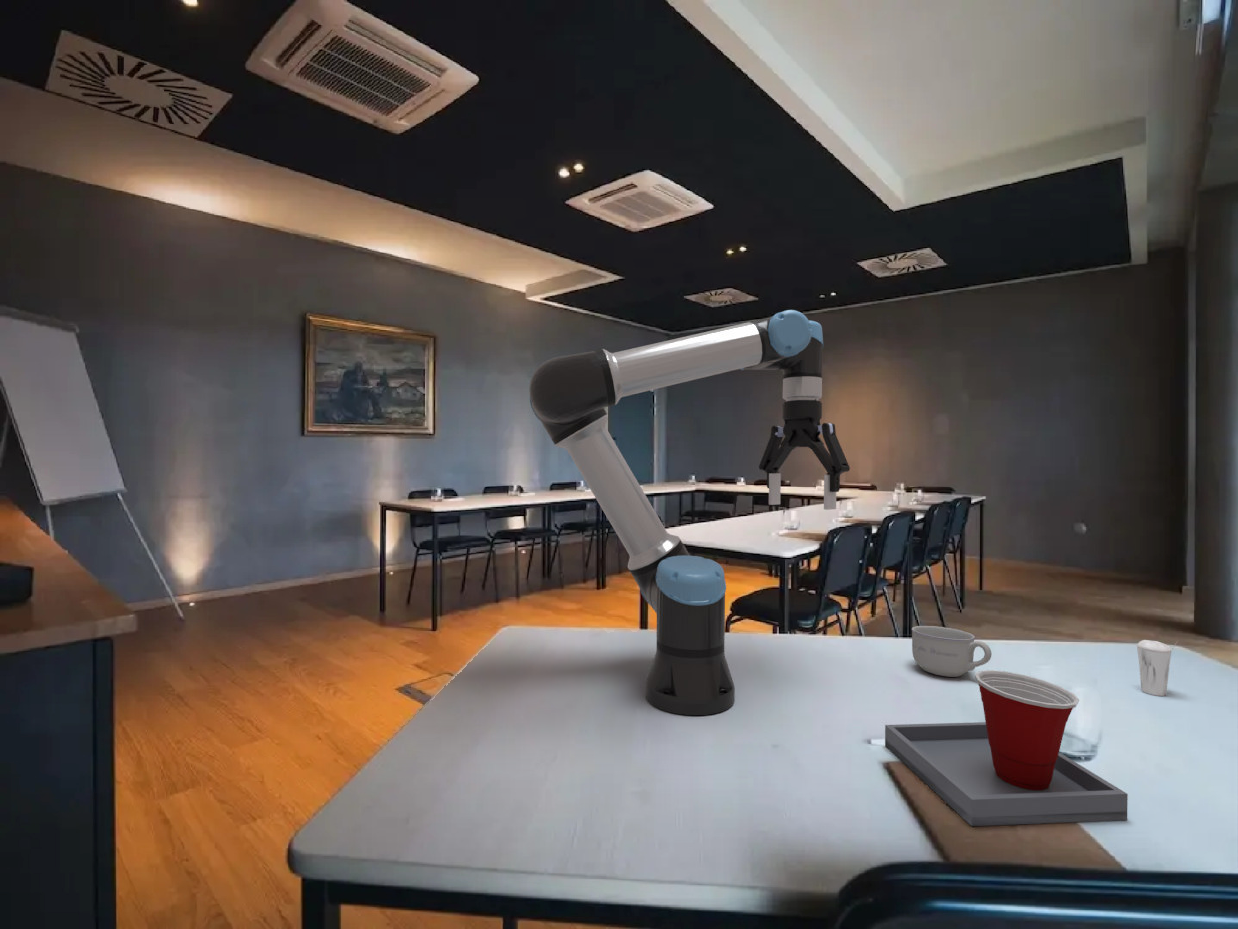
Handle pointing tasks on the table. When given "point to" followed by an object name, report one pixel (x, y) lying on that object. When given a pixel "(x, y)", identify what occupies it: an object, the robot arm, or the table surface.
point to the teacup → (946, 650)
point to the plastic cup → (1024, 725)
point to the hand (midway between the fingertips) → (800, 507)
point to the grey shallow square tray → (999, 779)
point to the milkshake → (1154, 666)
